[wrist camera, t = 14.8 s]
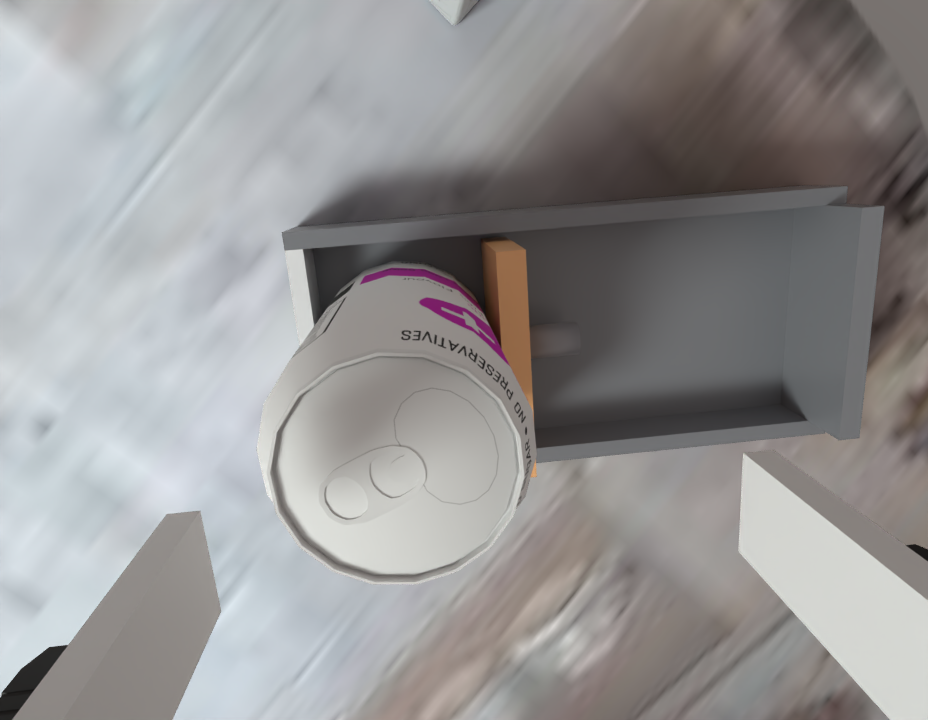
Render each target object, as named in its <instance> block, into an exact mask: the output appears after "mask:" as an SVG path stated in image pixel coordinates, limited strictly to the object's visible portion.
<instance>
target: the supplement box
mask: <svg viewBox="0 0 928 720" xmlns="http://www.w3.org/2000/svg"><path fill="white" fill-rule="evenodd" d="M429 1H430V2H431V3H432V4H433V5H434V6H435V7H436V8H437V10H438V11H439V12H440V13H441V14H442V15H443V16H444V17H445V18H446V19H447V20H448V21H449V22H450V23H451V24H452V25H455V26H456V25H457V24H458V23H459V22H460V21H461V20H462V19H463V18H464V17H465V15H466V14H467V13H468V12H469V11H470V10H471V9H472V7H473V6H474V5H475V4H476V3H477V2H478V1H479V0H429Z"/></svg>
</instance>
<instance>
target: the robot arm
mask: <svg viewBox="0 0 928 720" xmlns="http://www.w3.org/2000/svg"><path fill="white" fill-rule="evenodd" d="M739 552H740V554H741V555H742V556H743V557H744V558H745V559H746V560H747V561H748V562H749V564H750V565H751V566H752V567H753V568H754V569H755V570H756V571H757V572H758V574H759V575H760V576H761V577H762V578H763V579H764V580H765V581H766V582H767V584H768V585H769V586H770V587H771V588H772V589H773V590H774V591H775V592H776V594H777V595H778V596H779V597H780V598H781V599H782V600H783V601H784V602H785V604H786V605H787V606H788V607H789V608H790V609H791V610H792V611H793V612H794V614H795V615H796V616H797V617H798V618H799V619H800V620H801V621H802V622H803V624H804V625H805V626H806V627H807V628H808V629H809V630H810V631H811V632H812V634H813V635H814V636H815V637H816V638H817V639H818V640H819V641H820V642H821V644H822V645H823V646H824V647H825V648H826V649H827V650H828V651H829V652H830V654H831V655H832V656H833V657H834V658H835V659H836V660H837V661H838V662H839V664H840V665H841V666H842V667H843V668H844V669H845V670H846V671H847V672H848V674H849V675H850V676H851V677H852V678H853V679H854V680H855V681H856V682H857V684H858V685H859V686H860V687H861V688H862V689H863V690H864V691H865V692H866V694H867V695H868V696H869V697H870V698H871V699H872V700H873V701H874V702H875V704H876V705H877V706H878V707H879V708H880V709H881V710H882V711H883V712H884V714H885V715H886V716H887V717H888V718H889V719H890V720H928V550H927V549H925V548H923V547H921V546H918V545H916V544H914V545H904V544H903V543H901V542H900V541H899V540H897V539H896V538H895V537H893V536H892V535H890V534H889V533H888V532H886V531H885V530H884V529H882V528H881V527H879V526H878V525H877V524H875V523H874V522H872V521H871V520H870V519H868V518H867V517H866V516H864V515H863V514H861V513H860V512H859V511H857V510H856V509H854V508H853V507H852V506H850V505H849V504H848V503H846V502H845V501H843V500H842V499H841V498H839V497H838V496H837V495H835V494H834V493H832V492H831V491H830V490H828V489H827V488H825V487H824V486H823V485H821V484H820V483H819V482H817V481H816V480H814V479H813V478H812V477H810V476H809V475H808V474H806V473H805V472H803V471H802V470H801V469H799V468H798V467H796V466H795V465H794V464H792V463H791V462H790V461H788V460H787V459H785V458H784V457H783V456H781V455H780V454H778V453H777V452H776V451H774V450H766V451H757V452H748V453H743V469H742V490H741V512H740V534H739ZM220 613H221V608H220V603H219V598H218V593H217V589H216V584H215V579H214V574H213V570H212V565H211V560H210V555H209V551H208V546H207V541H206V536H205V532H204V527H203V522H202V517H201V513H200V511H193V512H183V513H174V514H167V515H166V516H165V517H164V519H163V520H162V521H161V522H160V524H159V525H158V526H157V528H156V529H155V530H154V532H153V533H152V534H151V536H150V537H149V538H148V540H147V541H146V542H145V544H144V545H143V546H142V548H141V549H140V550H139V552H138V553H137V554H136V556H135V557H134V558H133V560H132V561H131V562H130V564H129V565H128V566H127V568H126V569H125V570H124V572H123V573H122V574H121V576H120V577H119V578H118V580H117V581H116V582H115V584H114V585H113V586H112V588H111V589H110V590H109V592H108V593H107V594H106V596H105V597H104V598H103V600H102V601H101V602H100V604H99V605H98V606H97V608H96V609H95V610H94V612H93V613H92V614H91V616H90V617H89V618H88V620H87V621H86V622H85V624H84V625H83V626H82V628H81V629H80V630H79V632H78V633H77V634H76V636H75V637H74V638H73V640H72V641H71V642H70V643H69V645H64V646H56V647H49V648H48V649H46V650H45V651H44V652H43V653H41V654H40V655H39V656H37V657H36V658H35V659H33V660H32V661H31V662H30V663H28V664H27V665H26V666H24V667H23V668H22V669H21V670H20V671H19V672H18V674H17V675H16V676H15V677H14V678H13V680H12V681H11V682H10V683H9V685H8V686H7V687H6V688H5V689H4V691H3V692H2V696H1V698H0V720H172V719H173V717H174V715H175V713H176V710H177V708H178V706H179V704H180V702H181V699H182V697H183V695H184V693H185V690H186V688H187V686H188V684H189V682H190V679H191V677H192V675H193V673H194V670H195V668H196V666H197V664H198V662H199V659H200V657H201V655H202V653H203V651H204V648H205V646H206V644H207V642H208V639H209V637H210V635H211V633H212V631H213V628H214V626H215V624H216V622H217V619H218V617H219V615H220Z"/></svg>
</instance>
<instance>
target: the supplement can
mask: <svg viewBox="0 0 928 720" xmlns="http://www.w3.org/2000/svg"><path fill="white" fill-rule="evenodd" d="M257 454H258V458H259V462H260V466H261V471H262V475H263V479H264V483H265V488H266V492H267V494H268V496H269V497H270V499H271V500H272V502H273V503H274V507H275V511H276V514H277V516H278V517H279V518H280V520H281V521H282V523H283V524H284V526H285V527H286V529H287V530H288V532H289V533H290V535H291V536H292V537H293V539H294V540H295V542H296V543H297V545H298V546H299V547H300V548H301V549H302V550H304V551H305V552H306V553H308V554H309V555H311V556H312V557H313V558H315V559H316V560H318V561H319V562H320V563H322V564H323V565H324V566H326V567H327V568H329V569H330V570H331V571H333V572H335V573H339V574H342V575H345V576H348V577H351V578H354V579H358V580H361V581H364V582H367V583H370V584H374V585H416V584H420V583H423V582H426V581H429V580H433V579H436V578H439V577H442V576H445V575H449V574H452V573H455V572H457V571H459V570H460V569H462V568H463V567H464V566H466V565H467V564H469V563H470V562H471V561H473V560H474V559H476V558H477V557H479V556H480V555H481V554H483V553H484V552H486V551H487V550H489V549H490V548H491V547H492V545H493V544H494V542H495V541H496V540H497V538H498V537H499V536H500V534H501V533H502V531H503V530H504V529H505V527H506V526H507V524H508V523H509V522H510V520H511V519H512V518H513V516H514V514H515V510H516V509H517V507H518V506H519V504H520V503H521V502H522V500H523V499H524V498H525V495H526V492H527V488H528V484H529V481H530V477H531V474H532V470H533V467H534V463H535V459H536V456H537V451H536V441H535V431H534V420H533V410H532V408H531V406H530V404H529V402H528V400H527V398H526V396H525V394H524V392H523V390H522V388H521V387H520V385H519V383H518V381H517V379H516V377H515V375H514V373H513V371H512V369H511V367H510V365H509V363H508V361H507V359H506V357H505V355H504V353H503V351H502V349H501V347H500V345H499V343H498V341H497V339H496V337H495V335H494V333H493V331H492V329H491V327H490V325H489V323H488V321H487V319H486V317H485V315H484V313H483V311H482V309H481V307H480V306H479V304H478V302H477V300H476V298H475V296H474V294H473V293H472V292H471V291H470V290H469V289H468V288H467V287H466V286H464V285H463V284H462V283H461V282H460V281H459V280H458V279H457V278H456V277H455V276H454V275H452V274H451V273H449V272H446V271H444V270H441V269H439V268H436V267H434V266H432V265H429V264H427V263H424V262H406V261H392V262H389V263H385V264H382V265H379V266H376V267H373V268H370V269H367V270H364V271H363V272H361V273H360V274H359V275H358V276H356V277H355V278H354V279H353V280H351V281H350V282H349V283H347V284H346V285H345V286H344V287H342V288H341V289H340V291H339V292H338V293H337V295H336V296H335V298H334V299H333V300H332V302H331V303H330V305H329V306H328V308H327V309H326V310H325V312H324V313H323V315H322V316H321V317H320V319H319V320H318V322H317V323H316V324H315V326H314V327H313V329H312V330H311V331H310V333H309V334H308V336H307V337H306V339H305V340H304V341H303V343H302V344H301V346H300V347H299V348H298V350H297V351H296V353H295V354H294V355H293V357H292V358H291V360H290V361H289V362H288V364H287V366H286V367H285V369H284V371H283V372H282V374H281V376H280V377H279V379H278V381H277V382H276V384H275V386H274V387H273V389H272V391H271V392H270V394H269V396H268V397H267V399H266V401H265V402H264V405H263V411H262V418H261V424H260V431H259V437H258V443H257Z"/></svg>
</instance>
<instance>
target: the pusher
mask: <svg viewBox="0 0 928 720" xmlns="http://www.w3.org/2000/svg"><path fill="white" fill-rule="evenodd" d="M481 251H482V266H483V281H484V296H485V310H486V319H487V321H488V323H489V325H490V327H491V329H492V331H493V333H494V335H495V337H496V339H497V341H498V343H499V345H500V347H501V349H502V351H503V353H504V355H505V357H506V359H507V361H508V363H509V365H510V367H511V369H512V371H513V373H514V375H515V377H516V379H517V381H518V383H519V385H520V387H521V388H522V390H523V392H524V394H525V396H526V398H527V400H528V402H529V404H530V406H531V408H532V410H533V392H532V371H531V359H534V358H544V357H555V356H565V355H576V354H579V353H580V348H581V339H580V331H579V327H578V324H577V322H566V323H555V324H544V325H533V326H529V308H528V287H527V266H526V249H524V248H523V247H521V246H519V245H518V244H516V243H515V242H513V241H511V240H510V239H508V238H507V237H493V238H481ZM533 420H534V413H533ZM531 477H537V476H536V459H535V463H534V467H533V470H532V474H531Z"/></svg>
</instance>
